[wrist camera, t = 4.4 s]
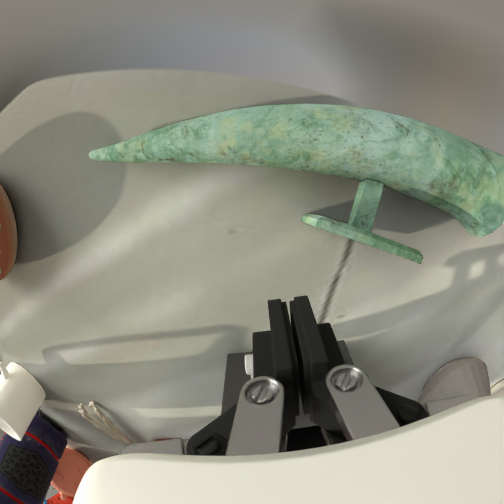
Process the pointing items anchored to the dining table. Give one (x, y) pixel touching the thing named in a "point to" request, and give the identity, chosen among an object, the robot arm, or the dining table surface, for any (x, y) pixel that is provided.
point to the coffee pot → (457, 380)
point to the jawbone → (113, 429)
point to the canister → (30, 462)
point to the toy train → (59, 500)
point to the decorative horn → (341, 160)
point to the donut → (7, 235)
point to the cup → (18, 399)
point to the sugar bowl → (70, 473)
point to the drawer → (304, 430)
